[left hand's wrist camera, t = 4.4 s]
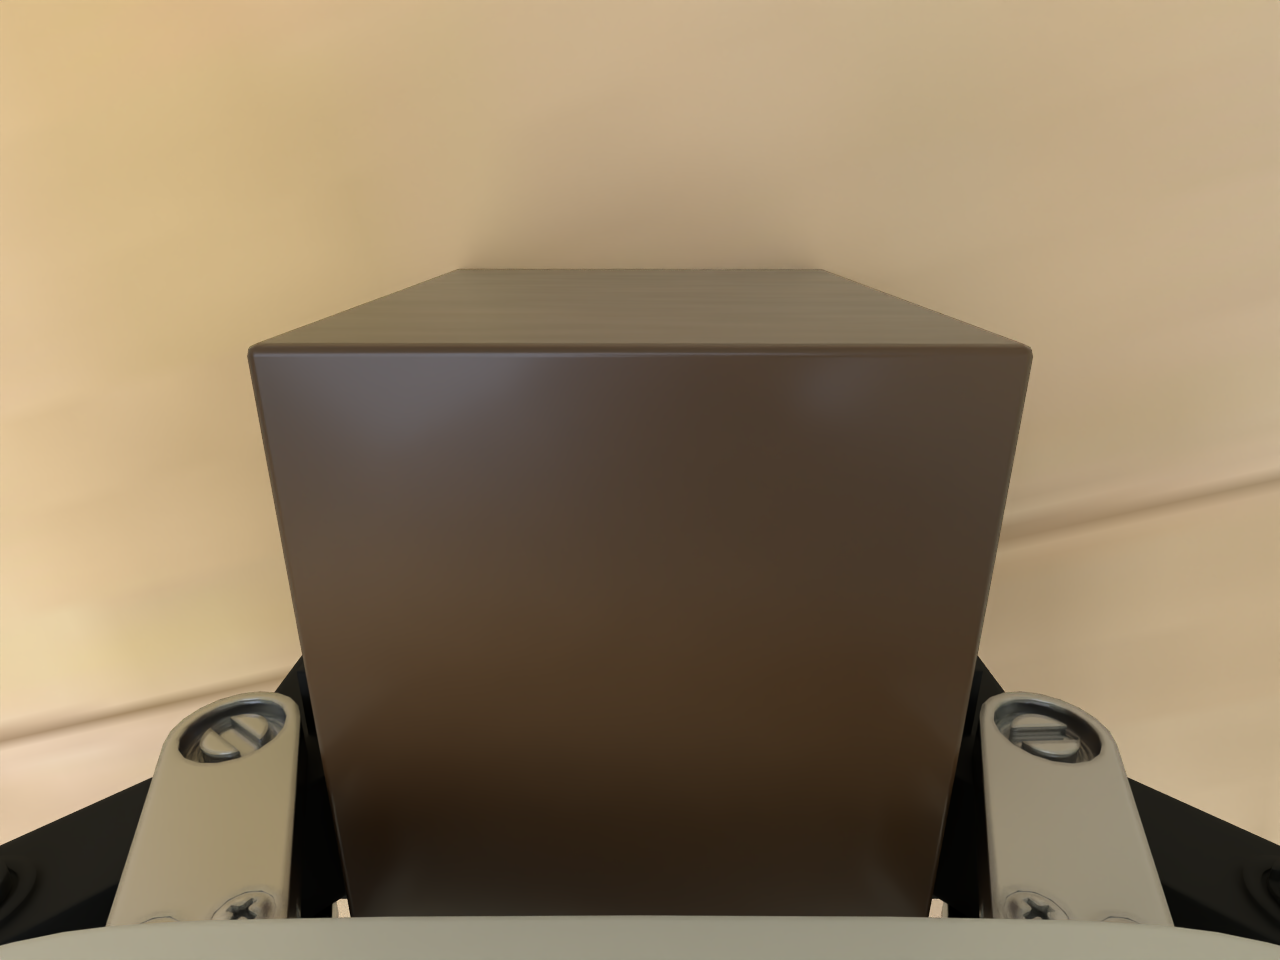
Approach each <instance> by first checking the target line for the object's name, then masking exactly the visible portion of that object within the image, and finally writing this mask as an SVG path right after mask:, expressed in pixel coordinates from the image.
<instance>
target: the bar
mask: <svg viewBox="0 0 1280 960" xmlns="http://www.w3.org/2000/svg"><path fill="white" fill-rule="evenodd" d="M247 357H248V363H249V368H250V373H251V379H252V384H253V390H254V395H255V401H256V406H257V411H258V417H259V422H260V428H261V433H262V439H263V444H264V449H265V455H266V460H267V466H268V471H269V477H270V482H271V487H272V493H273V498H274V504H275V509H276V515H277V520H278V525H279V531H280V536H281V542H282V547H283V553H284V558H285V563H286V569H287V574H288V580H289V585H290V591H291V596H292V601H293V607H294V612H295V618H296V623H297V629H298V634H299V639H300V645H301V650H302V656H303V661H304V667H305V672H306V677H307V683H308V688H309V694H310V699H311V705H312V710H313V715H314V721H315V726H316V732H317V737H318V742H319V748H320V753H321V759H322V764H323V770H324V775H325V780H326V786H327V791H328V797H329V802H330V808H331V813H332V818H333V824H334V829H335V835H336V840H337V846H338V851H339V856H340V862H341V867H342V873H343V878H344V884H345V889H346V894H347V900H348V905H349V911H350V916H351V917H436V916H638V915H642V916H844V917H929V912H930V906H931V901H932V896H933V890H934V885H935V879H936V874H937V869H938V863H939V858H940V853H941V847H942V842H943V837H944V831H945V826H946V820H947V815H948V810H949V804H950V799H951V794H952V788H953V783H954V777H955V772H956V767H957V761H958V756H959V751H960V745H961V740H962V735H963V729H964V724H965V718H966V713H967V708H968V702H969V697H970V692H971V686H972V681H973V675H974V670H975V665H976V659H977V654H978V649H979V643H980V638H981V633H982V627H983V622H984V616H985V611H986V606H987V600H988V595H989V590H990V584H991V579H992V573H993V568H994V563H995V557H996V552H997V547H998V541H999V536H1000V531H1001V525H1002V520H1003V514H1004V509H1005V504H1006V498H1007V493H1008V488H1009V482H1010V477H1011V471H1012V466H1013V461H1014V455H1015V450H1016V445H1017V439H1018V434H1019V428H1020V423H1021V418H1022V412H1023V407H1024V402H1025V396H1026V391H1027V386H1028V380H1029V375H1030V369H1031V364H1032V359H1033V355H1032V350H1031V348H1030V347H1029V346H1026V345H1024V344H1022V343H1019V342H1016V341H1014V340H1011V339H1008V338H1006V337H1003V336H1000V335H997V334H995V333H992V332H989V331H987V330H984V329H981V328H979V327H976V326H973V325H970V324H968V323H965V322H962V321H960V320H957V319H954V318H951V317H949V316H946V315H943V314H941V313H938V312H935V311H933V310H930V309H927V308H924V307H922V306H919V305H916V304H914V303H911V302H908V301H906V300H903V299H900V298H897V297H895V296H892V295H889V294H887V293H884V292H881V291H878V290H876V289H873V288H870V287H868V286H865V285H862V284H860V283H857V282H854V281H851V280H849V279H846V278H843V277H841V276H838V275H835V274H833V273H830V272H827V271H824V270H635V269H458V270H455V271H452V272H449V273H447V274H444V275H441V276H438V277H436V278H433V279H430V280H428V281H425V282H422V283H419V284H417V285H414V286H411V287H409V288H406V289H403V290H400V291H398V292H395V293H392V294H390V295H387V296H384V297H381V298H379V299H376V300H373V301H371V302H368V303H365V304H362V305H360V306H357V307H354V308H352V309H349V310H346V311H343V312H341V313H338V314H335V315H333V316H330V317H327V318H324V319H322V320H319V321H316V322H314V323H311V324H308V325H305V326H303V327H300V328H297V329H294V330H292V331H289V332H286V333H284V334H281V335H278V336H275V337H273V338H270V339H267V340H265V341H262V342H259V343H257V344H254V345H252V346H250V347H249V349H248V356H247Z"/></svg>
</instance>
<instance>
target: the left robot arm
mask: <svg viewBox="0 0 1280 960" xmlns="http://www.w3.org/2000/svg"><path fill="white" fill-rule="evenodd" d="M339 899H347V894H346V889H345V884H344V878H343V873H342V867H341V862H340V856H339V851H338V846H337V840H336V835H335V829H334V824H333V818H332V813H331V808H330V802H329V797H328V791H327V786H326V780H325V775H324V770H323V764H322V759H321V753H320V748H319V742H318V737H317V732H316V726H315V721H314V715H313V710H312V705H311V699H310V694H309V688H308V683H307V677H306V672H305V667H304V661H303V656H301V657H300V659H299V660H298V661H297V663H296V664H295V665H294V667H293V668H292V670H291V671H290V672H289V674H288V675H287V676H286V678H285V679H284V680H283V682H282V683H281V684H280V686H279V687H278V688H277V690H276V691H275V692H252V693H243V694H238V695H235V696H231V697H227V698H224V699H220V700H218V701H216V702H213V703H211V704H209V705H206V706H204V707H202V708H200V709H198V710H197V711H195V712H194V713H192V714H191V715H189V716H187V717H186V718H184V719H183V720H182V721H181V722H180V723H179V724H178V725H177V726H176V727H175V728H174V729H173V730H172V731H170V733H169V735H168V737H167V739H166V740H165V742H164V744H163V747H162V750H161V753H160V756H159V759H158V762H157V765H156V769H155V772H154V775H153V777H152V778H150V779H147V780H145V781H143V782H141V783H138V784H136V785H134V786H132V787H130V788H127V789H125V790H123V791H121V792H118V793H116V794H114V795H112V796H110V797H107V798H105V799H103V800H101V801H98V802H96V803H94V804H92V805H90V806H87V807H85V808H83V809H81V810H78V811H76V812H74V813H72V814H69V815H67V816H65V817H63V818H61V819H58V820H56V821H54V822H52V823H49V824H47V825H45V826H43V827H41V828H38V829H36V830H34V831H32V832H29V833H27V834H25V835H23V836H21V837H18V838H16V839H14V840H12V841H9V842H7V843H5V844H3V845H1V846H0V960H1280V846H1279V845H1277V844H1275V843H1272V842H1270V841H1268V840H1266V839H1264V838H1261V837H1259V836H1257V835H1255V834H1252V833H1250V832H1248V831H1246V830H1244V829H1241V828H1239V827H1237V826H1235V825H1232V824H1230V823H1228V822H1226V821H1224V820H1221V819H1219V818H1217V817H1215V816H1212V815H1210V814H1208V813H1206V812H1203V811H1201V810H1199V809H1197V808H1195V807H1192V806H1190V805H1188V804H1186V803H1183V802H1181V801H1179V800H1177V799H1175V798H1172V797H1170V796H1168V795H1166V794H1163V793H1161V792H1159V791H1157V790H1154V789H1152V788H1150V787H1148V786H1146V785H1143V784H1141V783H1139V782H1137V781H1134V780H1132V779H1130V778H1128V777H1127V775H1126V772H1125V769H1124V765H1123V762H1122V759H1121V756H1120V753H1119V750H1118V747H1117V744H1116V742H1115V740H1114V739H1113V737H1112V735H1111V733H1110V731H1108V730H1107V729H1106V728H1105V727H1104V726H1103V725H1102V724H1101V723H1100V722H1099V721H1098V720H1097V719H1096V718H1094V717H1093V716H1091V715H1089V714H1088V713H1086V712H1085V711H1083V710H1082V709H1080V708H1078V707H1076V706H1074V705H1071V704H1069V703H1067V702H1064V701H1062V700H1060V699H1056V698H1053V697H1049V696H1045V695H1042V694H1037V693H1028V692H1006V693H1005V692H1004V690H1003V689H1002V688H1001V686H1000V685H999V684H998V682H997V681H996V680H995V678H994V677H993V676H992V674H991V673H990V672H989V670H988V669H987V668H986V666H985V665H984V663H983V662H982V661H981V659H980V658H979V657H978V655H977V659H976V665H975V670H974V675H973V681H972V686H971V692H970V697H969V702H968V708H967V713H966V718H965V724H964V729H963V735H962V740H961V745H960V751H959V756H958V761H957V767H956V772H955V777H954V783H953V788H952V794H951V799H950V804H949V810H948V815H947V820H946V826H945V831H944V837H943V842H942V847H941V853H940V858H939V863H938V869H937V874H936V879H935V885H934V890H933V896H932V899H940V900H942V901H944V902H943V907H942V912H941V918H930V917H844V916H642V915H638V916H436V917H350V918H339V912H338V907H337V902H336V901H338V900H339Z"/></svg>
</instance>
